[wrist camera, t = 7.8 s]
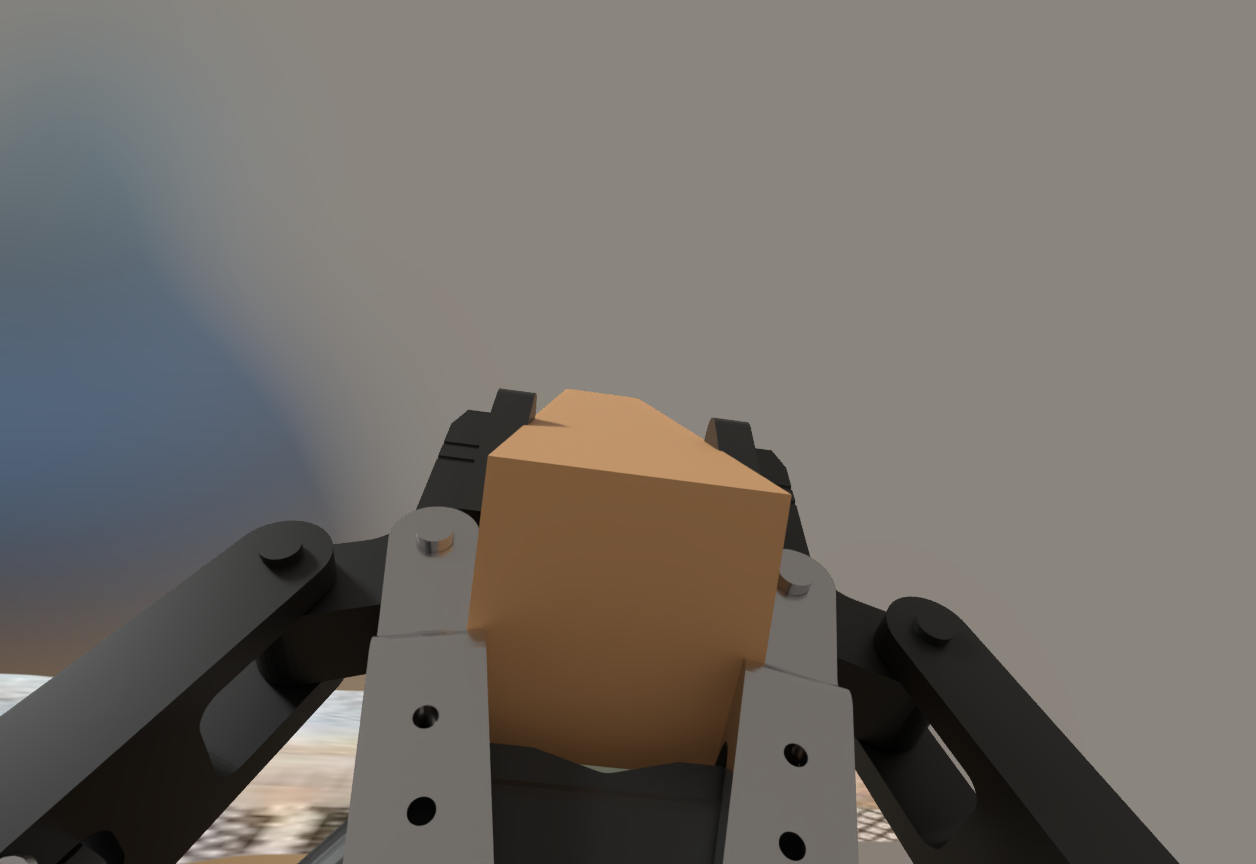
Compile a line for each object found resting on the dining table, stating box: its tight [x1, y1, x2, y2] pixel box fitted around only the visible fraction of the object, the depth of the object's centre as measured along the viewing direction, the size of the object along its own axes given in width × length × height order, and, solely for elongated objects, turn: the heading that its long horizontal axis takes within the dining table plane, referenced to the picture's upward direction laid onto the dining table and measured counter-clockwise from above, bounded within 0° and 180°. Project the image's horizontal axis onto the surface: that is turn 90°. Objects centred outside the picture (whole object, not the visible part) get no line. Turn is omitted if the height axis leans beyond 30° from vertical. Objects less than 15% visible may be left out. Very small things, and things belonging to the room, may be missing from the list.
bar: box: [467, 389, 792, 770], centre depth 21 cm, size 4×26×4 cm, turn 3°
